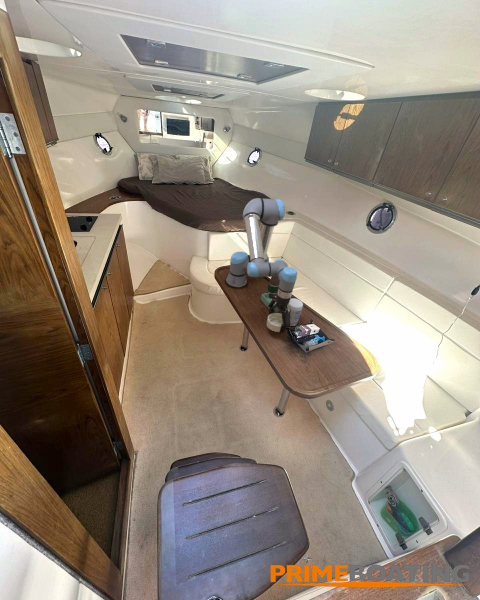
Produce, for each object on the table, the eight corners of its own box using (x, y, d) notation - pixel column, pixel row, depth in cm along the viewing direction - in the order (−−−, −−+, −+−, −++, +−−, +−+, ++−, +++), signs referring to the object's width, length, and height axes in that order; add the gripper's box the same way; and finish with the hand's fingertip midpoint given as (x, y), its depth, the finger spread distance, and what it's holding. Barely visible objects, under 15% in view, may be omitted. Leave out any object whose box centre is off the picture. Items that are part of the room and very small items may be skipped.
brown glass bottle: (277, 299, 173) (284, 269, 159) (266, 298, 173) (272, 268, 159) (276, 293, 180) (283, 263, 165) (265, 292, 179) (271, 262, 165)
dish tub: (260, 299, 172) (261, 294, 169) (278, 295, 178) (279, 290, 175) (272, 312, 161) (273, 307, 159) (291, 307, 168) (292, 302, 165)
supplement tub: (294, 328, 151) (300, 310, 143) (280, 322, 155) (285, 304, 146) (299, 320, 158) (305, 301, 150) (285, 314, 162) (290, 296, 153)
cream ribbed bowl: (262, 321, 146) (264, 315, 143) (278, 317, 151) (280, 311, 148) (273, 334, 139) (274, 328, 136) (289, 329, 143) (291, 323, 140)
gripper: (266, 284, 138) (260, 314, 151) (291, 310, 122) (282, 341, 135) (277, 282, 141) (270, 311, 154) (303, 307, 125) (293, 337, 138)
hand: (275, 325), depth 145 cm, fingers closed on cream ribbed bowl, 11 cm apart
